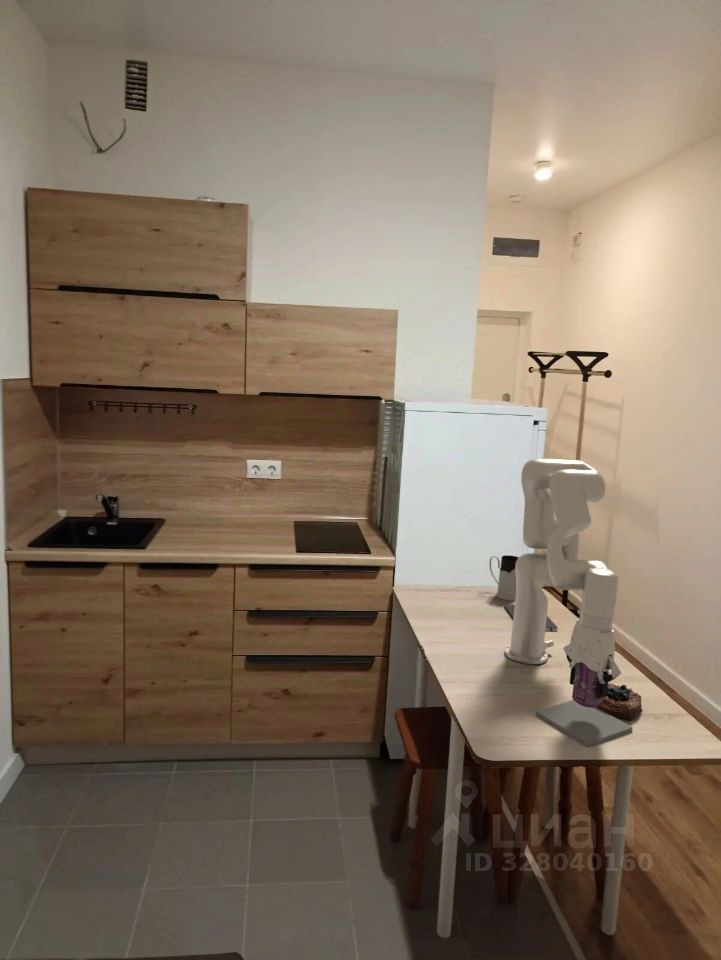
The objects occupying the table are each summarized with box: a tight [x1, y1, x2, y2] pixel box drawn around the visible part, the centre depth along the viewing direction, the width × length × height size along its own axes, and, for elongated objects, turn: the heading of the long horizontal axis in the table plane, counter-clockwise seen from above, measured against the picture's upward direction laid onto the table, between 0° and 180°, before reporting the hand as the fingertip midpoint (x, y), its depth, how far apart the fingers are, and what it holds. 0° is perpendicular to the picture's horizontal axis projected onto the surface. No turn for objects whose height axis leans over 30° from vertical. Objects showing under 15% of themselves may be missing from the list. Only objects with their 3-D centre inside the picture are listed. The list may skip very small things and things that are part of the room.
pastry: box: [597, 682, 644, 722], centre depth 174 cm, size 11×12×6 cm
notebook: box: [503, 604, 559, 632], centre depth 235 cm, size 13×2×21 cm
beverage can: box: [571, 662, 605, 708], centre depth 164 cm, size 7×7×12 cm
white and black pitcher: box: [489, 554, 520, 601], centre depth 258 cm, size 9×14×15 cm, turn 41°
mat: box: [535, 699, 634, 748], centre depth 166 cm, size 16×16×1 cm
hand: (587, 689), depth 164 cm, fingers closed on beverage can, 7 cm apart
